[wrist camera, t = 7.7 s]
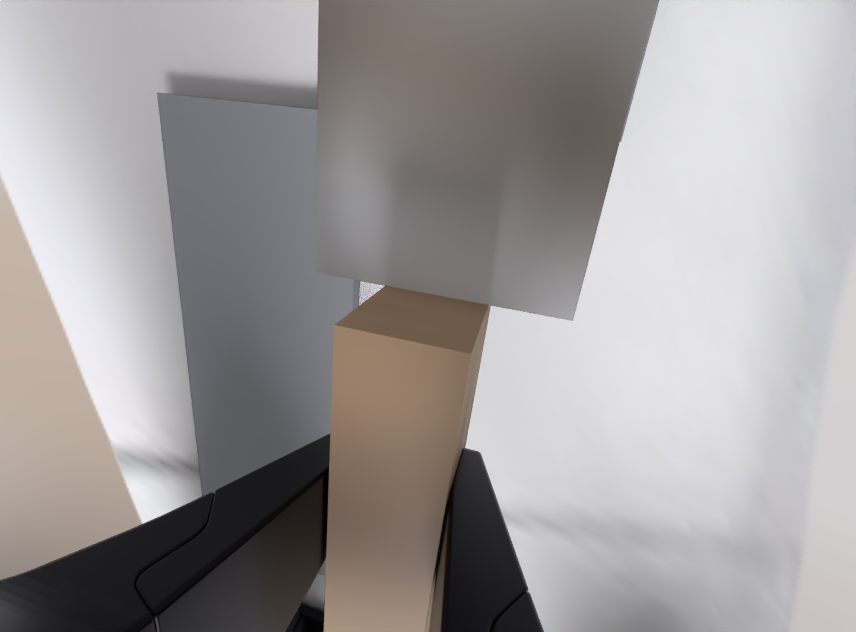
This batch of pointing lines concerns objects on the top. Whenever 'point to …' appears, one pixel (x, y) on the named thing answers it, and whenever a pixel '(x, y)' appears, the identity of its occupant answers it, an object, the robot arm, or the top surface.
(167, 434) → the top surface
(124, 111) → the top surface
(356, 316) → the turner
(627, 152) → the top surface
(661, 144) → the top surface
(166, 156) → the mat
